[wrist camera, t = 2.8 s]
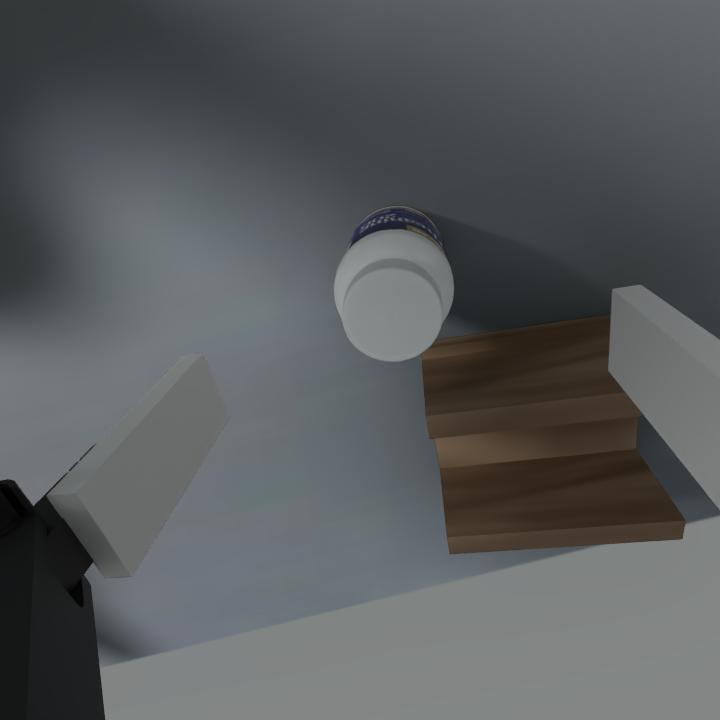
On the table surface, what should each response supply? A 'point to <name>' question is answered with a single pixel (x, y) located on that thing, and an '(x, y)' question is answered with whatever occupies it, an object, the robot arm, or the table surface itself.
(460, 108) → the table surface
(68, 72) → the table surface
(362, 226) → the pill bottle
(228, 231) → the table surface
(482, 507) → the u rest
